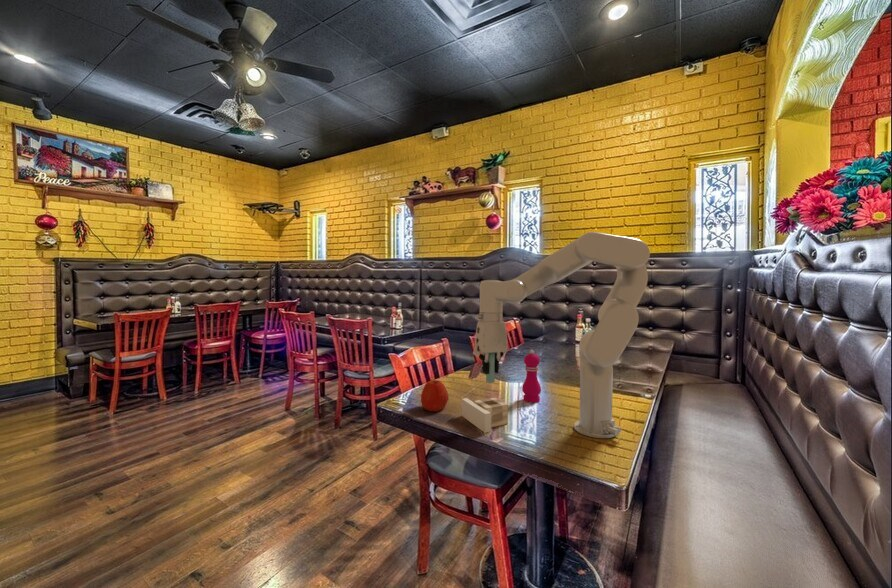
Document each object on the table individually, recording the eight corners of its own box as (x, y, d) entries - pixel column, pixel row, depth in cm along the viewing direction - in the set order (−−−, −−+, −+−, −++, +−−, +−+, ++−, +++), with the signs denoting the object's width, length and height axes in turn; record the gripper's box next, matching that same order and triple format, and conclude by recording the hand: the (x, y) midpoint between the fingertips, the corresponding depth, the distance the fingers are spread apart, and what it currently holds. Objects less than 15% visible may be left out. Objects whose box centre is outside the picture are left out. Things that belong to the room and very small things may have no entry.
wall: (490, 431, 116) (490, 412, 116) (485, 432, 115) (485, 413, 115) (466, 414, 131) (466, 398, 131) (461, 415, 130) (461, 398, 130)
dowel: (496, 382, 123) (496, 352, 123) (488, 383, 122) (489, 353, 122) (491, 380, 126) (491, 350, 125) (484, 381, 125) (484, 351, 124)
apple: (454, 408, 137) (453, 380, 137) (433, 415, 130) (433, 386, 130) (435, 401, 145) (435, 375, 144) (414, 408, 138) (414, 380, 137)
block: (507, 424, 122) (507, 404, 122) (486, 428, 119) (486, 408, 119) (494, 415, 130) (494, 397, 129) (474, 419, 126) (474, 400, 126)
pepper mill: (539, 397, 149) (539, 348, 149) (542, 403, 142) (542, 351, 141) (521, 397, 150) (521, 348, 149) (523, 403, 143) (523, 351, 142)
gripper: (474, 319, 116) (474, 378, 117) (518, 317, 123) (517, 372, 124) (463, 317, 123) (463, 372, 124) (505, 315, 130) (504, 367, 131)
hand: (490, 372), depth 124 cm, fingers closed on dowel, 2 cm apart
